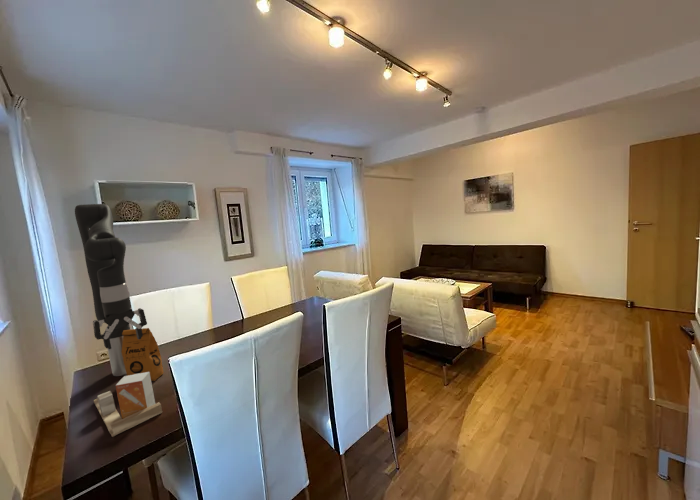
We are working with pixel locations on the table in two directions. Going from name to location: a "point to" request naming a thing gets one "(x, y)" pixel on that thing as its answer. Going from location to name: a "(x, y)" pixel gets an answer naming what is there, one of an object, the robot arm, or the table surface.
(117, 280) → the robot arm
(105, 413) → the hooked slat
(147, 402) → the small box
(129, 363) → the coffee package
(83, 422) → the table surface
